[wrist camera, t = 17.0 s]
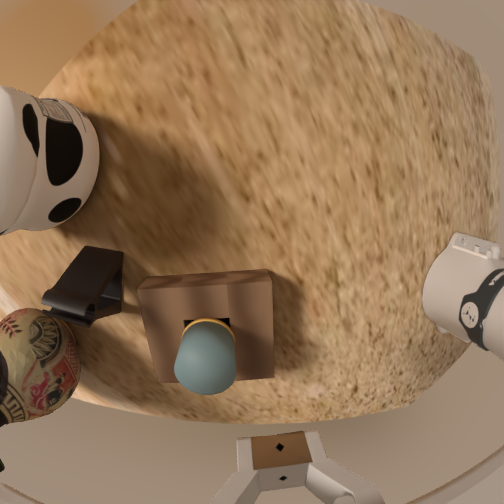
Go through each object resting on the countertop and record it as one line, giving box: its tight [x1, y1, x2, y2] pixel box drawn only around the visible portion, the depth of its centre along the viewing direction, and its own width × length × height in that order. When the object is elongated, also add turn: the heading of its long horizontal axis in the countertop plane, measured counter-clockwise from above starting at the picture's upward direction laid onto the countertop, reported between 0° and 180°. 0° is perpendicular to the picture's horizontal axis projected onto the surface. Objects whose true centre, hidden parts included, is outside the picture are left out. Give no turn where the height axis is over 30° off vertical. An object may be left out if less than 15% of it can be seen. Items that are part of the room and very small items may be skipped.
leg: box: [174, 318, 236, 395], centre depth 33 cm, size 6×6×12 cm
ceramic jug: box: [0, 308, 81, 472], centre depth 23 cm, size 17×15×30 cm
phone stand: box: [41, 246, 123, 328], centre depth 30 cm, size 9×6×12 cm, turn 169°
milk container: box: [0, 86, 100, 236], centre depth 23 cm, size 17×17×18 cm
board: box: [137, 269, 274, 383], centre depth 36 cm, size 16×14×5 cm
